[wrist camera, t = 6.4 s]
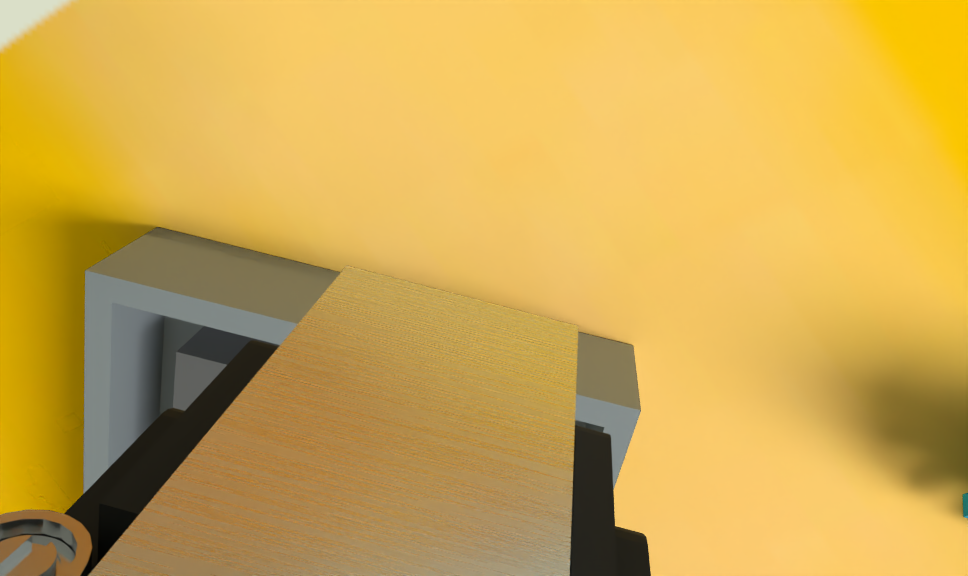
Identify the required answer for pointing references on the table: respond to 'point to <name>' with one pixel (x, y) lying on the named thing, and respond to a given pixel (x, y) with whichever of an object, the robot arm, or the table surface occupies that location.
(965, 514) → the blue bumpy legged piece
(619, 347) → the box
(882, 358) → the table surface
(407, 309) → the peg
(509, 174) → the table surface
